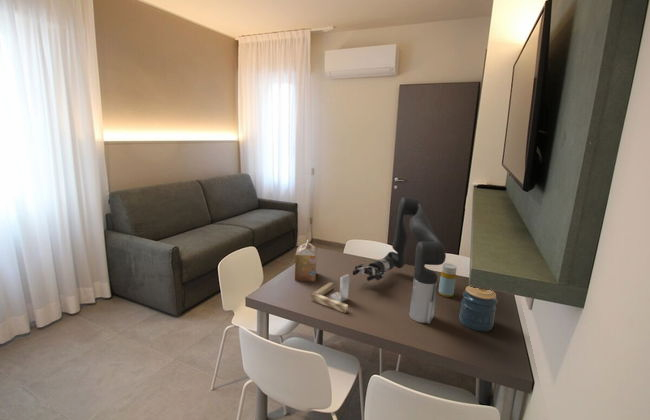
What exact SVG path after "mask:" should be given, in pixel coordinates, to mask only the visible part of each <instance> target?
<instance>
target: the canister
mask: <svg viewBox="0 0 650 420" xmlns="http://www.w3.org/2000/svg"><path fill="white" fill-rule="evenodd" d="M470 286H471V285H467V286H466V287H465V290H463V292H462V296H463V297H462V298H461V304H460V311H459V314H458V316H459V318H458V319H459V321H460V323H461V324H463V326H465V327H467V328H469V329H470V330H474V331H478V332H489V331H491V330H492V329H493V327H494V323H495V322H494V320H495V316H496V315H495V314H496V311H497V307H496V305H497V304H498V303H499V302H498V299H497V294H496V292H495V291H494V290H492V289H491V290H492V291H491V290H485V289H479V288H473V287H470Z"/></svg>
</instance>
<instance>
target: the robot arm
mask: <svg viewBox="0 0 650 420" xmlns="http://www.w3.org/2000/svg"><path fill="white" fill-rule="evenodd" d="M405 216H409V217H411V218H410V219H409V223H408V227H409V229H410V232H411V234H412V236H413V237H414V239H416V240H418V242H417V244H416V247H415V258H414V273H413V274H414V275H413V279H412V280H413V282H412V287H411V288H412V290H411V296H410V297H411V298H410V305H409V306H410V308H409V317H410V319H412V320H413V321H414V322H418V323H421V324H431V322H432V321H433V319H434V317H435V316H434V315H435V308H436V301H437V297H436V292H437V284H438V274H437V272H435V271H433V270H431V269H430V268H427V267H426V266H425V265H429V266H440V265H443V264H445V262H446V257H447V256H446V255H447V254H446V250H445V247H444V245H443V243H442V241H441V240H440V239H439V237H438V236H437V234H436V232H435V231H434V230H433V228H432V224H431V223H430V221H429V219H428V218H427V216H426V214H425V210H424V206H423V204H422V201H421V200H420V199H418V198H414V197H406V196H403V197H401V199H399V204H398V208H397V217H396V225H395V226H396V227H395V233H394V239H393V242H392V249H393V250H394V251H389V252H388V253H387V254H386V255H385V256H384V257H383V258H379V259H377V260H374V261H372V262H370V263H369V264H368V265H366V266H364V264H358V265H356V266H354V270H352V276H356V275H359V274H361V275H368V276H366V281H367V282H369V281H372V280H376V281H379V280H381V279H383V278H384V277H385V274H386V273H387V272H388V271H391V270H393V268H394V267H395V268H397V269H401V268H403V267H404V266H405V264H406V248H407V247H406V246H407V243H408V238H409V236H408V231H407V228H406V225H405V222H404V221H405V220H404V217H405Z"/></svg>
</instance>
